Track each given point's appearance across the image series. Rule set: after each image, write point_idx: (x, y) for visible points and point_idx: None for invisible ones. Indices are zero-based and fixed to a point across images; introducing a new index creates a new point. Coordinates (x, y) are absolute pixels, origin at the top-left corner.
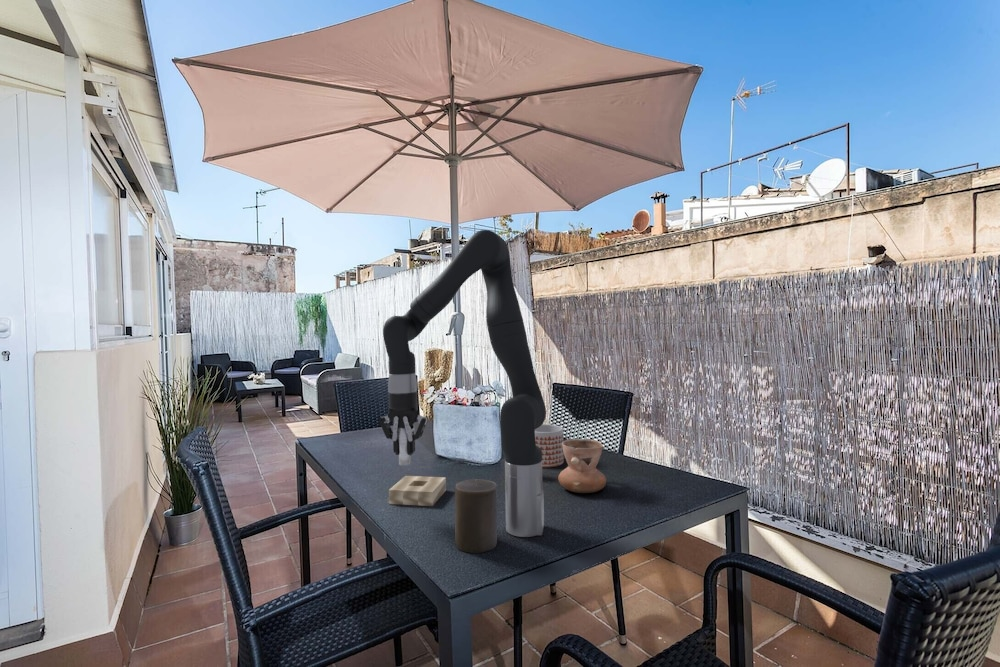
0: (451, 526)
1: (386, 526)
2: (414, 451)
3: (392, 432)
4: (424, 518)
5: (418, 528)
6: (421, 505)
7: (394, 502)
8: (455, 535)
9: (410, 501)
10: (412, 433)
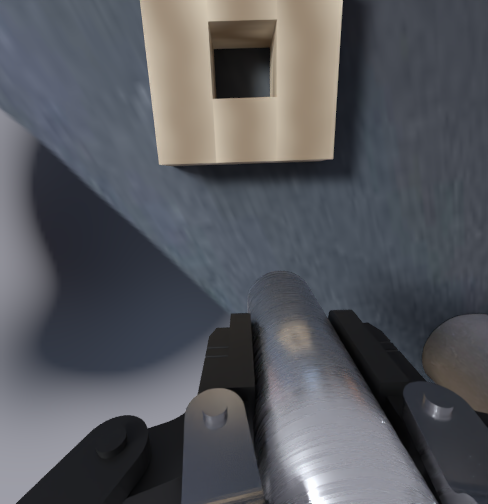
0: (399, 283)
1: (240, 310)
2: (369, 328)
3: (122, 496)
4: (319, 251)
5: (321, 306)
6: (281, 162)
7: (190, 165)
8: (436, 380)
9: (245, 163)
10: (475, 482)
